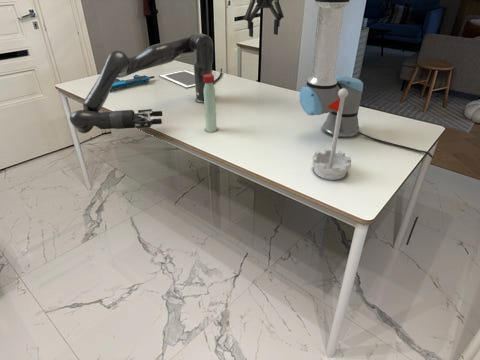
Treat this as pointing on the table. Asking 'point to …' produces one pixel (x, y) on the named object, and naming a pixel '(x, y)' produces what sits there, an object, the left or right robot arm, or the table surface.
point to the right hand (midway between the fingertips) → (263, 35)
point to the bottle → (210, 107)
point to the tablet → (181, 78)
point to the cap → (208, 78)
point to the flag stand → (333, 149)
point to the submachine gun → (130, 81)
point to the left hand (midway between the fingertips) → (162, 117)
